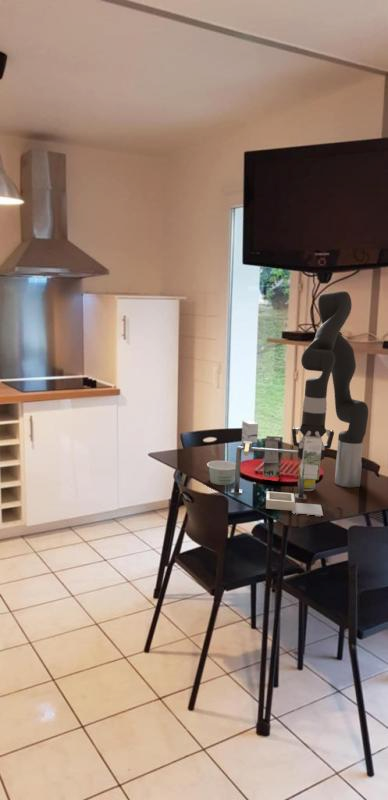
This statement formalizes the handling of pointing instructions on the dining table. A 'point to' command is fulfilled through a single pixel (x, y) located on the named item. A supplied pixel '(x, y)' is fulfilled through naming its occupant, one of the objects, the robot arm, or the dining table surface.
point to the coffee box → (272, 457)
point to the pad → (307, 509)
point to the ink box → (249, 432)
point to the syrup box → (311, 458)
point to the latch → (247, 447)
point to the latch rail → (240, 448)
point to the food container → (221, 472)
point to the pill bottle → (307, 483)
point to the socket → (280, 500)
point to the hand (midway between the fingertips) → (310, 459)
